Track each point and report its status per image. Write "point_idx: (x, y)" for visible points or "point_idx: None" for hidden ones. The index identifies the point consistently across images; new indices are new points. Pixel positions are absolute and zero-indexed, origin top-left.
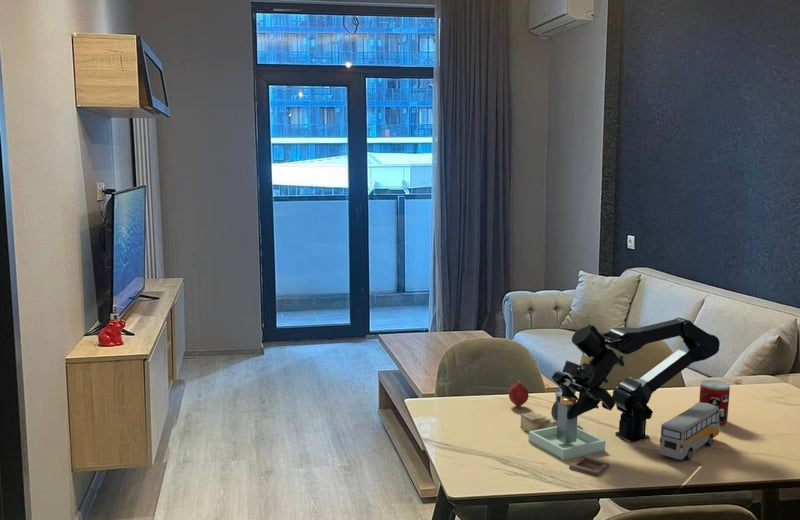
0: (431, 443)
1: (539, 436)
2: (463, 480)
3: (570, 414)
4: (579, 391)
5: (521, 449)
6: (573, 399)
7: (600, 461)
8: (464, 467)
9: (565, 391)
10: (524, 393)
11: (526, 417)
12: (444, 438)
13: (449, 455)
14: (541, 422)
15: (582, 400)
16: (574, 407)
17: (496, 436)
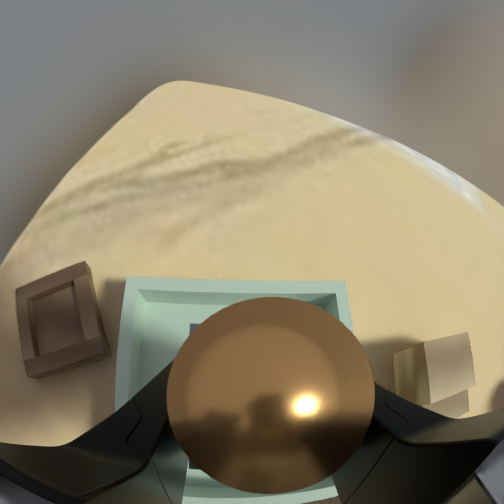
0: (367, 131)
1: (285, 286)
2: (199, 95)
3: (174, 358)
4: (79, 499)
5: (286, 246)
6: (231, 449)
7: (47, 368)
8: (244, 111)
9: (433, 436)
10: None
11: (446, 337)
12: (388, 155)
13: (306, 120)
14: (417, 390)
15: (64, 446)
16: (157, 393)
17: (391, 244)
